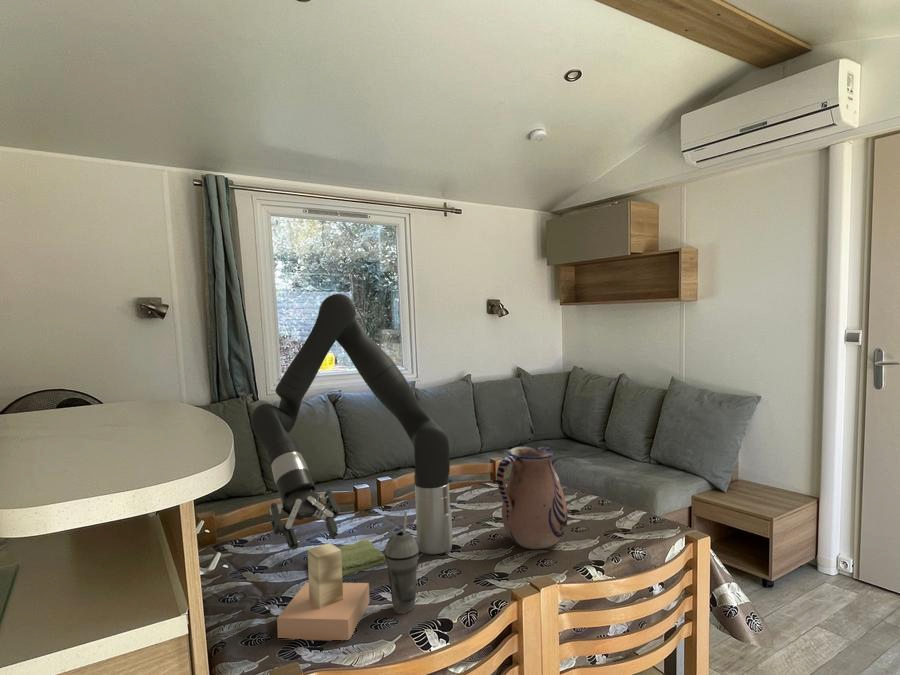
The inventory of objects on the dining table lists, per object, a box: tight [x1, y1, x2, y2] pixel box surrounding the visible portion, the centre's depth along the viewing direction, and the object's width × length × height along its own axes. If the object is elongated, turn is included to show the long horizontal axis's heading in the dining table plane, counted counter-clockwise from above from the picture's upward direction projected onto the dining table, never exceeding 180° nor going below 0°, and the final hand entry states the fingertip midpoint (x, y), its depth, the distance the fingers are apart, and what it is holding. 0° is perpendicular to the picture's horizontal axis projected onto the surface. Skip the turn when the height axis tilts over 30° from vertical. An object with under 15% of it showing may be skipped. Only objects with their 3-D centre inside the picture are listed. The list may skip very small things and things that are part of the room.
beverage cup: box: [383, 510, 420, 613], centre depth 104 cm, size 7×7×20 cm
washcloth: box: [338, 538, 386, 577], centre depth 126 cm, size 13×18×3 cm
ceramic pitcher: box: [496, 445, 569, 550], centre depth 133 cm, size 18×21×25 cm
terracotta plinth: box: [276, 581, 370, 642], centre depth 101 cm, size 14×14×4 cm
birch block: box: [307, 542, 344, 608], centre depth 101 cm, size 5×5×10 cm
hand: (315, 541), depth 104 cm, fingers open, 8 cm apart
